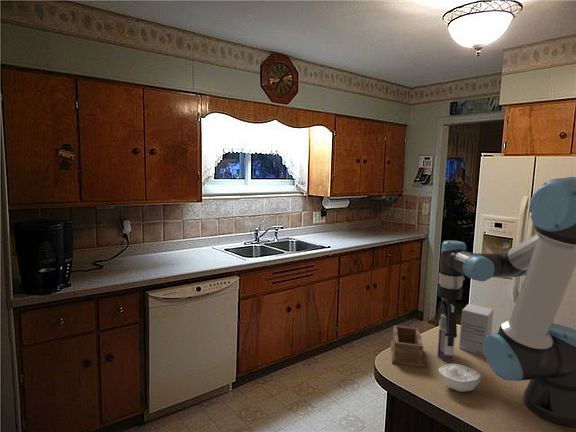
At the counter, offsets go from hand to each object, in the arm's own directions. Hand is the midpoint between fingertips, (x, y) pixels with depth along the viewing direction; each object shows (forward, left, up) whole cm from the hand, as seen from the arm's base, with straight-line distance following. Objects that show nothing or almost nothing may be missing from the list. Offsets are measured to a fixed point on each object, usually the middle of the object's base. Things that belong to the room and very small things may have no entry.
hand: (445, 345), depth 132 cm
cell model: (-19, -1, -5) cm, 20 cm away
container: (0, 0, -5) cm, 5 cm away
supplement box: (+11, -12, -5) cm, 17 cm away
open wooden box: (-2, +13, -4) cm, 14 cm away
